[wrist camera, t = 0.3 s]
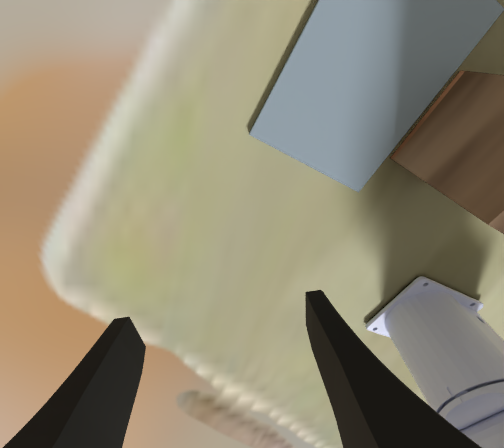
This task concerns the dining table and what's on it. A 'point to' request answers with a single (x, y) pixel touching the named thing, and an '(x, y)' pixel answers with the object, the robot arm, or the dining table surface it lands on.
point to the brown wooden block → (463, 145)
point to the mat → (366, 79)
